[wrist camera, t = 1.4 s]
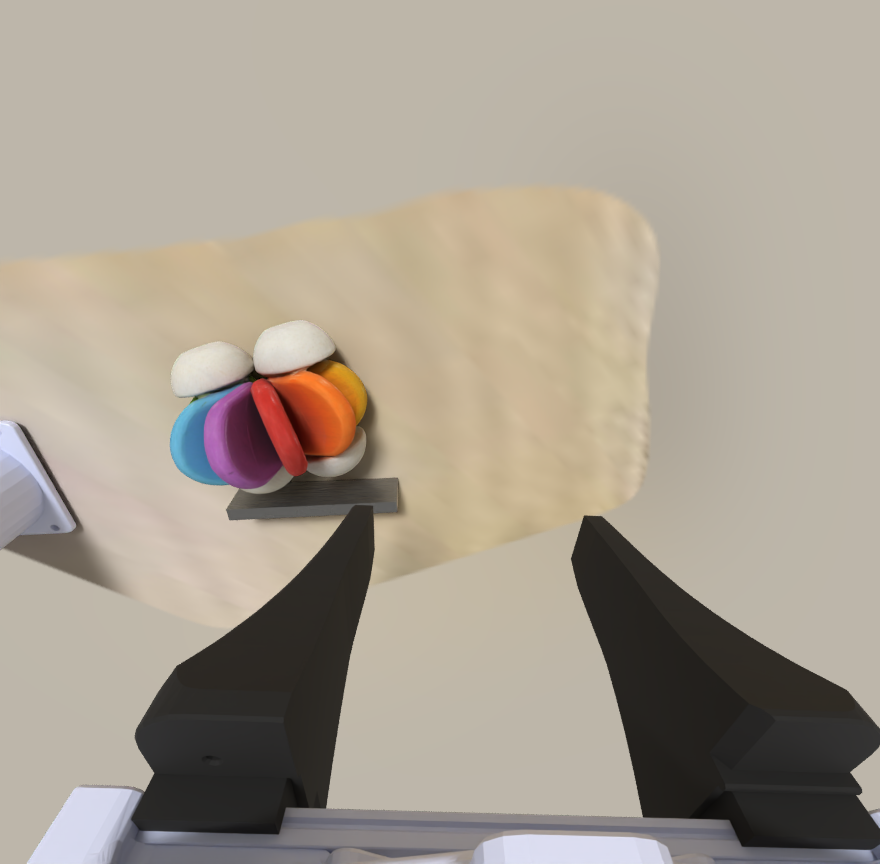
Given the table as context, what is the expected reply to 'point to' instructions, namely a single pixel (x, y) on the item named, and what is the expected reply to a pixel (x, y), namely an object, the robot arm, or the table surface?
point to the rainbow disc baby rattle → (267, 411)
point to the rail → (316, 499)
